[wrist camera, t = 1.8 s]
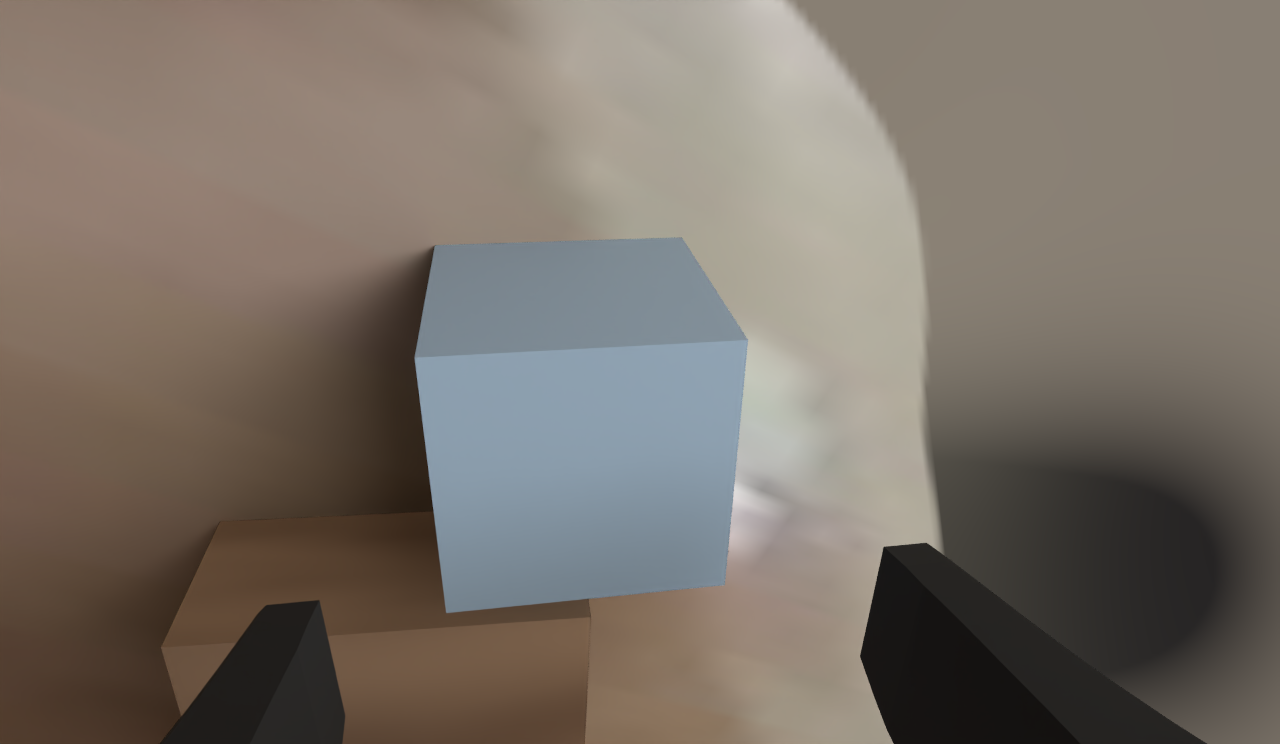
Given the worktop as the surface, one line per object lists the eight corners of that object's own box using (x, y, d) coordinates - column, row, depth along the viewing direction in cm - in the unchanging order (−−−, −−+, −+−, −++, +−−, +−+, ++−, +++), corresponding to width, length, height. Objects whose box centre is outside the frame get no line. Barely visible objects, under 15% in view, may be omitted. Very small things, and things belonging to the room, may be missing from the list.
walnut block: (566, 719, 23) (579, 855, 20) (275, 746, 22) (234, 897, 19) (573, 497, 20) (590, 617, 16) (223, 513, 18) (161, 647, 15)
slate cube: (671, 437, 19) (724, 584, 15) (456, 453, 18) (446, 613, 14) (680, 235, 17) (748, 340, 12) (434, 243, 16) (414, 357, 12)
